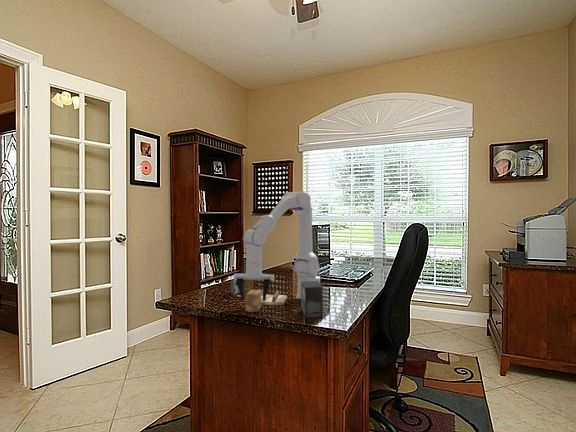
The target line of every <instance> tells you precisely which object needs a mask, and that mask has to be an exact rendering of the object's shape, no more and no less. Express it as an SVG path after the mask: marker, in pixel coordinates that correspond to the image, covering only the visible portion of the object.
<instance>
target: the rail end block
mask: <svg viewBox="0 0 576 432" xmlns="http://www.w3.org/2000/svg"><path fill="white" fill-rule="evenodd" d="M261 291H262V289H250V290H249V291H248V292H247V293H245V312H247V311H248V312H251V313H252V312H254V313H257V312H259V311H260V308H261V307H262V304H261Z"/></svg>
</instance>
